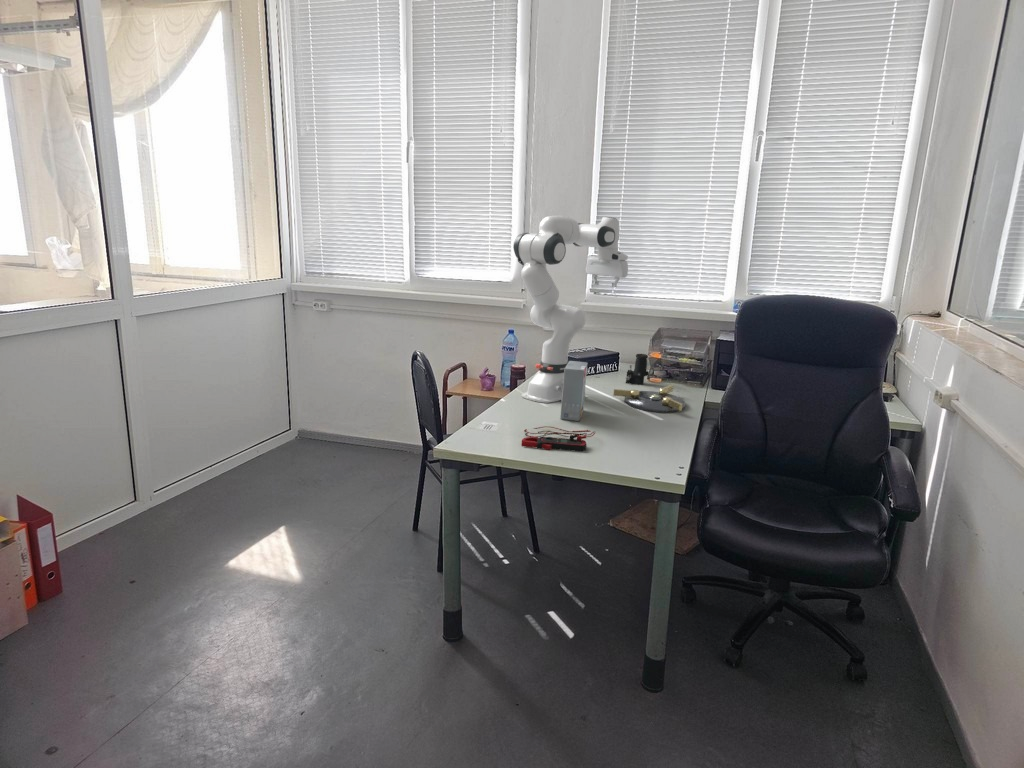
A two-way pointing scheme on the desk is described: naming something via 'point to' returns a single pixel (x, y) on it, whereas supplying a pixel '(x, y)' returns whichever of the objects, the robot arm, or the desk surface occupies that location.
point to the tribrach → (653, 402)
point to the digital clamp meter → (557, 441)
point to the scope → (638, 370)
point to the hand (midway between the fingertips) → (605, 286)
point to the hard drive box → (573, 390)
